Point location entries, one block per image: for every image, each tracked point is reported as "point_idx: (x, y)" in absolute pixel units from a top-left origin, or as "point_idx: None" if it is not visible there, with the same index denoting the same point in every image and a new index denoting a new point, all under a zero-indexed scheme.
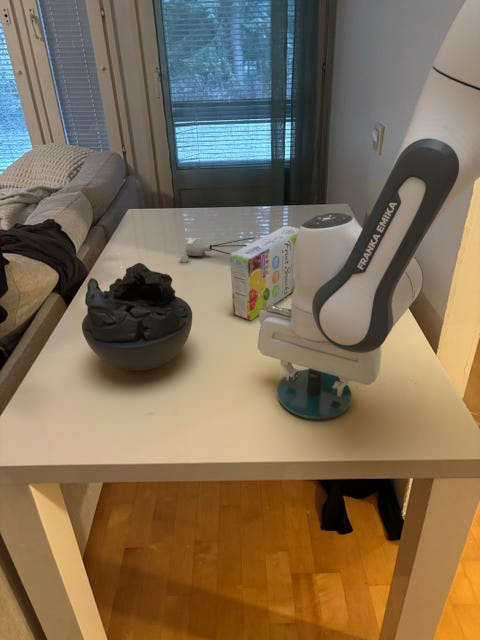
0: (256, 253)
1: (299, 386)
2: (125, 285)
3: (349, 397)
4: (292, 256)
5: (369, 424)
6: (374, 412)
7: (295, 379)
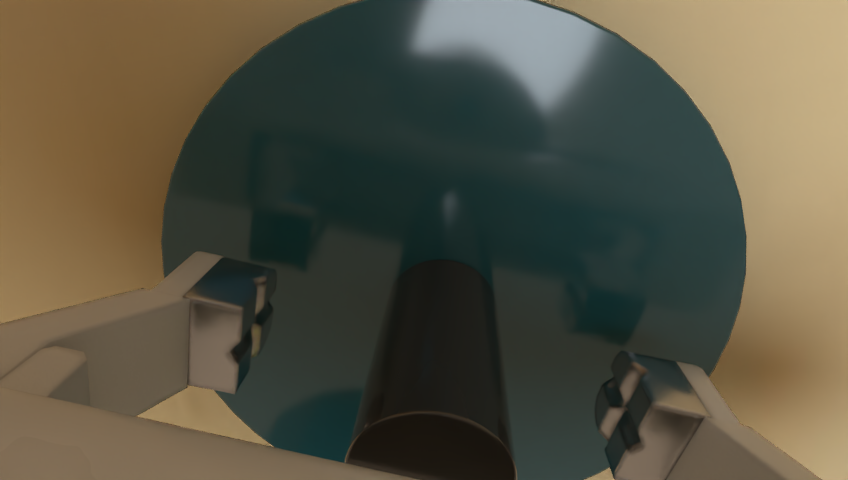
0: None
1: (559, 339)
2: None
3: None
4: None
5: (2, 82)
6: (20, 213)
7: (610, 384)
